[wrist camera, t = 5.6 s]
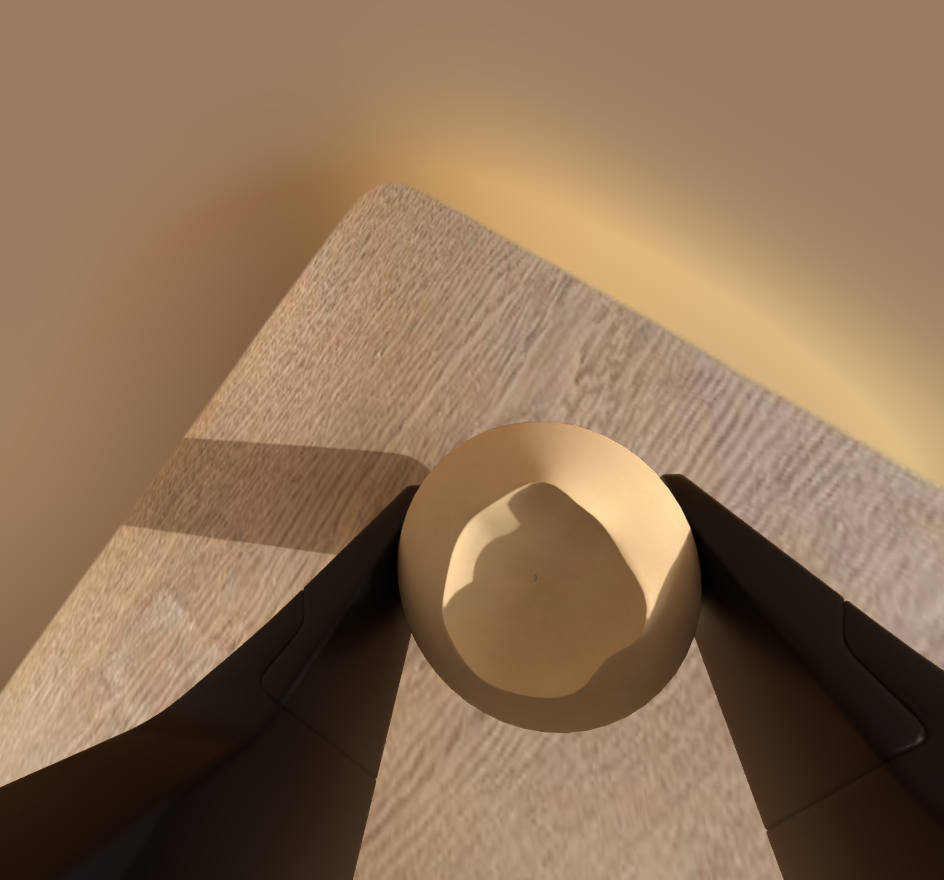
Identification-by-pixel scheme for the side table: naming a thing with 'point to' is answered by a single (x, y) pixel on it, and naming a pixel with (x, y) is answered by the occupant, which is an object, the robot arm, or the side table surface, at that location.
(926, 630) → the side table surface
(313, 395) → the side table surface
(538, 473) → the candle
